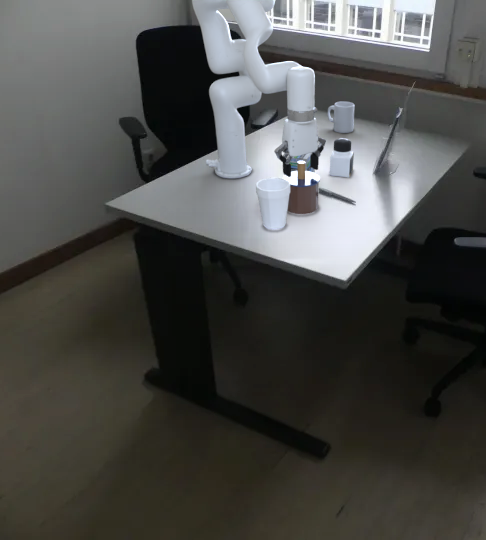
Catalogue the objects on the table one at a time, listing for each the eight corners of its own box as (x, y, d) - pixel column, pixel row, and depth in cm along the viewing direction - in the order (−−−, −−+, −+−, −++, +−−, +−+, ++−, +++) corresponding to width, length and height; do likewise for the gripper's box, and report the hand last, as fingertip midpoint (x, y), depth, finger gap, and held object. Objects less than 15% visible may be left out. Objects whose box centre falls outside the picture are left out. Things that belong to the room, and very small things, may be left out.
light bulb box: (307, 190, 175) (307, 159, 169) (287, 188, 176) (287, 157, 170) (315, 178, 184) (315, 148, 178) (296, 175, 185) (296, 145, 179)
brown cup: (283, 215, 159) (283, 186, 154) (284, 200, 168) (284, 172, 163) (318, 215, 160) (318, 186, 155) (317, 200, 168) (318, 172, 163)
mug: (356, 128, 229) (357, 103, 223) (348, 134, 223) (349, 108, 217) (331, 124, 234) (332, 99, 228) (322, 129, 227) (323, 103, 221)
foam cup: (291, 218, 158) (290, 177, 151) (290, 233, 150) (289, 191, 143) (259, 218, 157) (257, 177, 150) (256, 233, 150) (254, 191, 143)
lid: (281, 189, 154) (281, 169, 151) (283, 173, 163) (282, 154, 160) (320, 189, 155) (320, 169, 151) (319, 174, 164) (319, 155, 161)
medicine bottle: (349, 177, 184) (351, 144, 178) (329, 175, 186) (330, 142, 179) (352, 170, 190) (354, 137, 184) (333, 168, 191) (334, 135, 185)
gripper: (318, 106, 155) (317, 162, 164) (267, 116, 146) (269, 174, 155) (333, 113, 150) (331, 169, 159) (282, 123, 141) (283, 182, 151)
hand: (300, 171), depth 157 cm, fingers open, 9 cm apart
